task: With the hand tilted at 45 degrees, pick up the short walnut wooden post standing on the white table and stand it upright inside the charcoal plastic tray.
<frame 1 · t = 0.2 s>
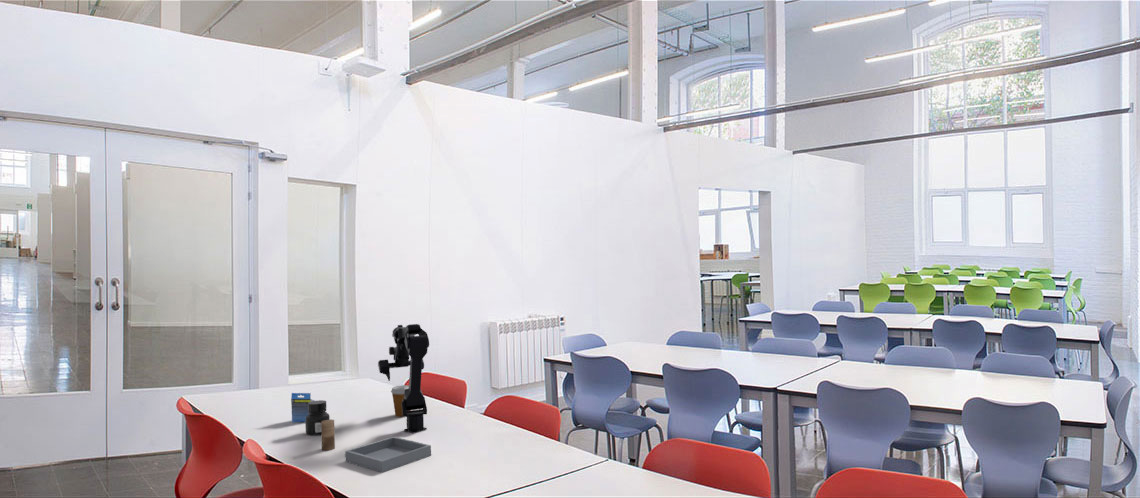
hand: (399, 379, 281), 15 cm above the table, tool tilted 35°, fingers open, 9 cm apart
ink bottle: (317, 433, 253), on the table
disposable coffee cup: (403, 415, 278), on the table
post: (328, 448, 232), on the table
label tape box: (303, 421, 272), on the table
tray: (388, 458, 219), on the table
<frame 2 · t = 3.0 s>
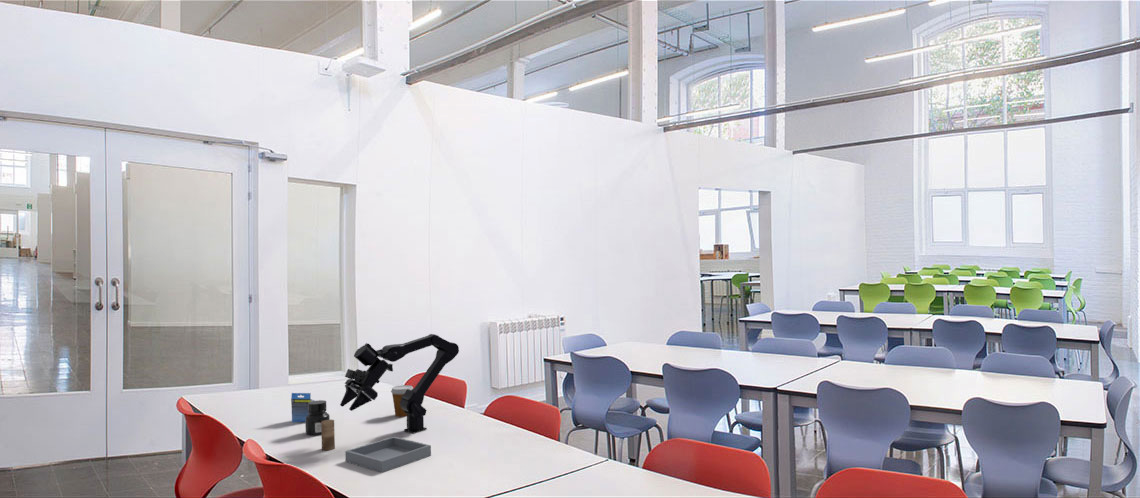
hand: (345, 407, 236), 14 cm above the table, tool tilted 45°, fingers open, 9 cm apart
nothing on the table moved.
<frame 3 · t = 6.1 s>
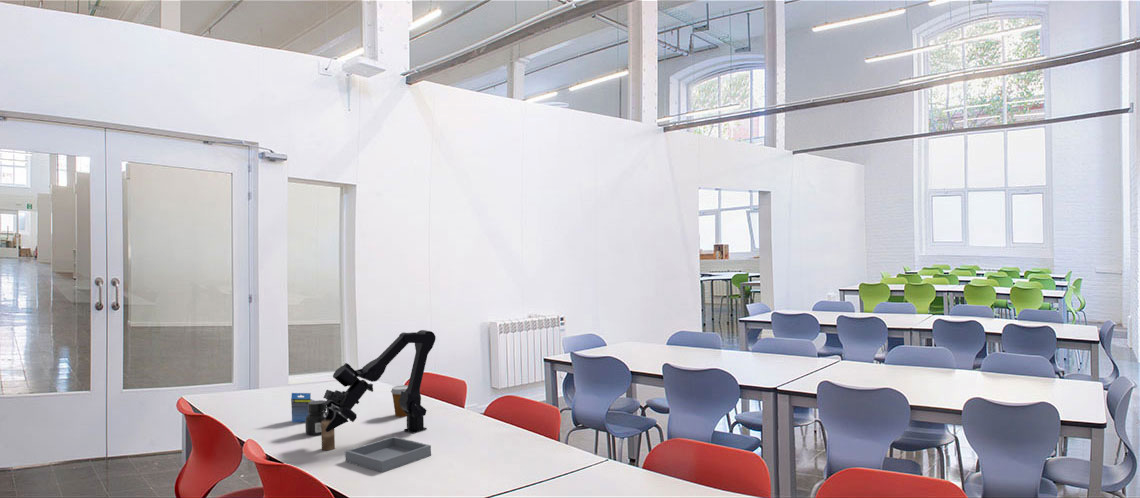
hand: (323, 429, 231), 7 cm above the table, tool tilted 45°, fingers closed on post, 4 cm apart
post: (328, 448, 232), on the table, touching gripper
everything else where it was.
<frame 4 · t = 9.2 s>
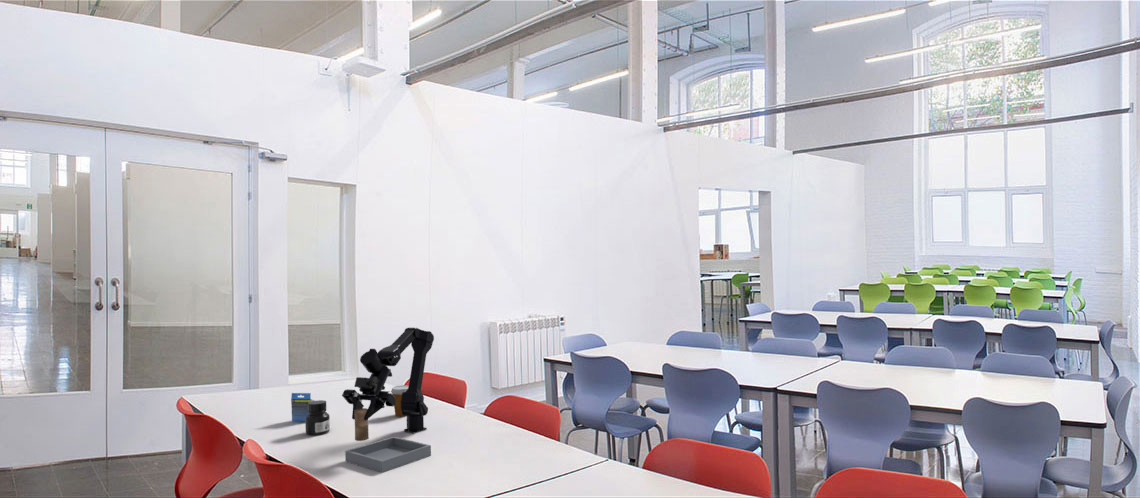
hand: (359, 419, 219), 13 cm above the table, tool tilted 45°, fingers closed on post, 4 cm apart
post: (361, 439, 221), point 6 cm above the table, touching gripper
everything else where it was.
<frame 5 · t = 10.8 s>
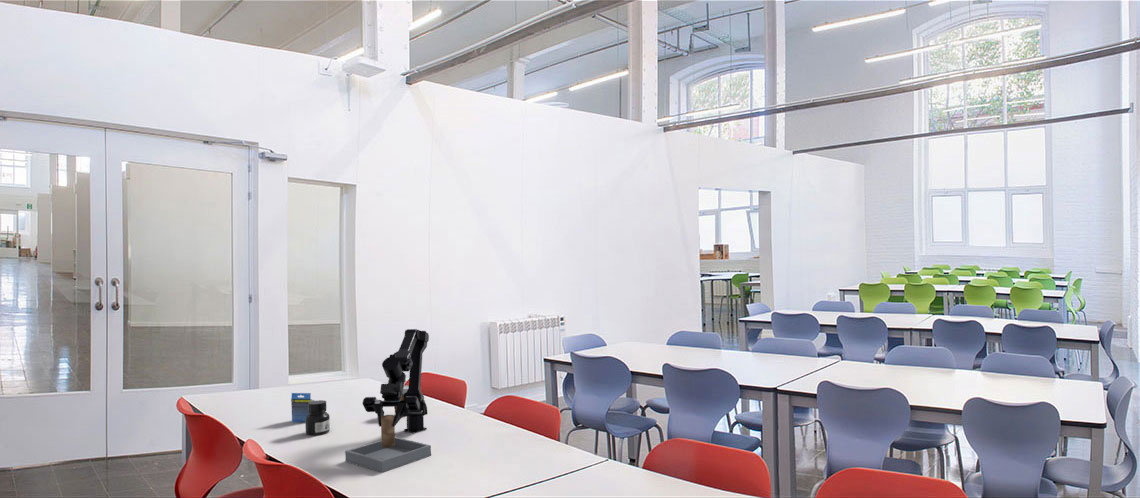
hand: (386, 426, 217), 11 cm above the table, tool tilted 45°, fingers closed on post, 4 cm apart
post: (388, 445, 219), point 4 cm above the table, touching gripper
everything else where it was.
when the fingers open (9 cm above the table, at t = 12.1 s): post drops 1 cm, resting on tray.
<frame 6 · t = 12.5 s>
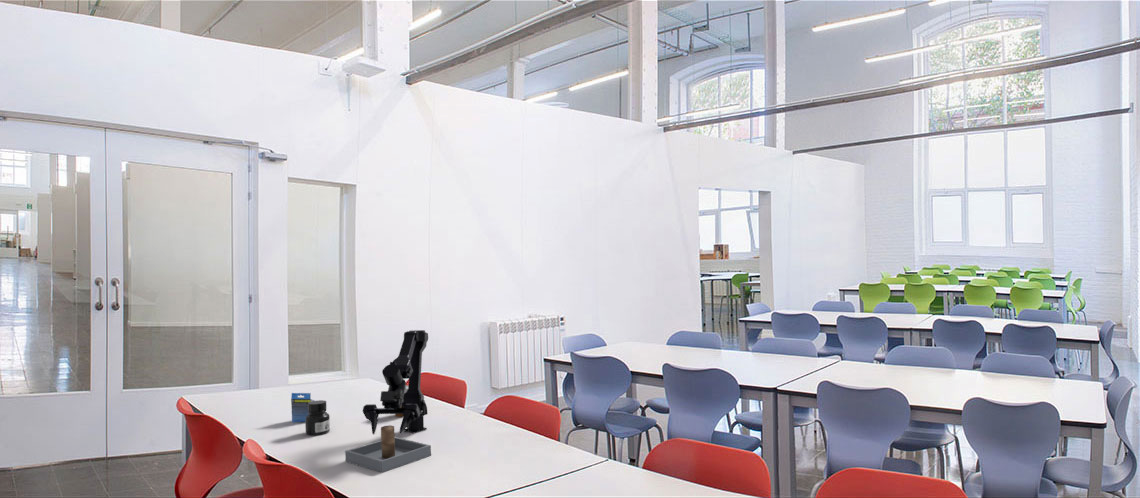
hand: (386, 433, 217), 9 cm above the table, tool tilted 45°, fingers open, 9 cm apart
post: (388, 456, 219), point 1 cm above the table, touching tray
everything else where it was.
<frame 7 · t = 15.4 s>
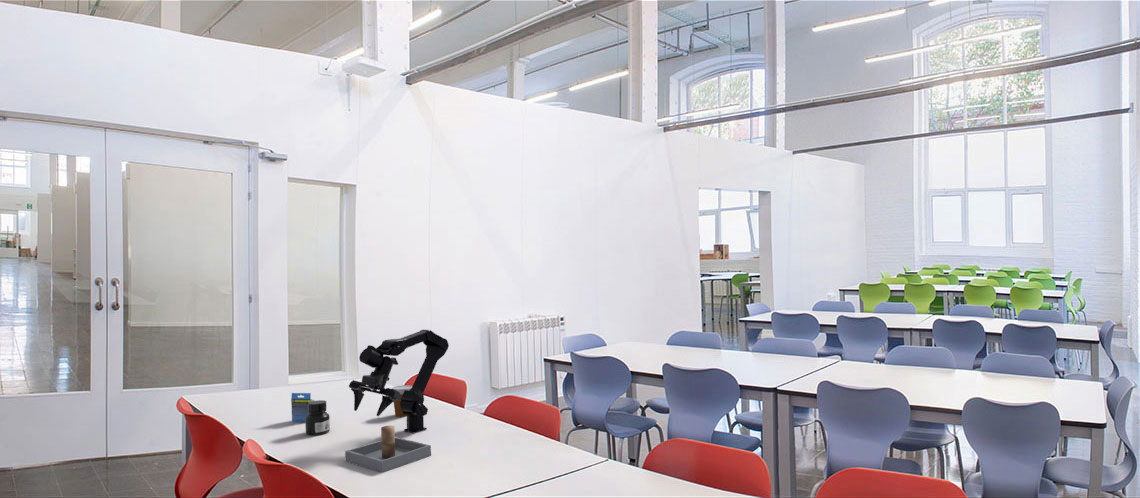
hand: (366, 413, 233), 12 cm above the table, tool tilted 30°, fingers open, 9 cm apart
nothing on the table moved.
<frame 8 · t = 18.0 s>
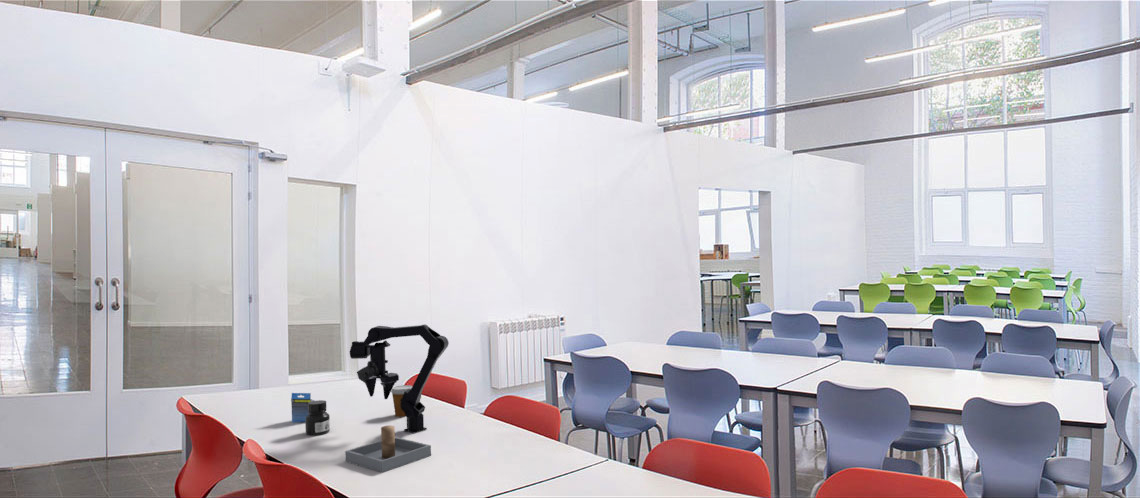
hand: (378, 397, 254), 13 cm above the table, tool pointing down, fingers open, 9 cm apart
nothing on the table moved.
at the end: post inside the target area on the tray (0.0 cm from its centre), point 0.6 cm above the tray's base; post tilted 0°; the gripper is holding nothing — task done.
